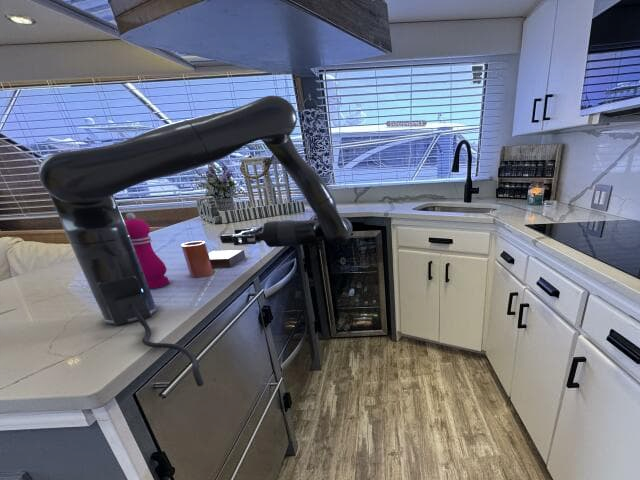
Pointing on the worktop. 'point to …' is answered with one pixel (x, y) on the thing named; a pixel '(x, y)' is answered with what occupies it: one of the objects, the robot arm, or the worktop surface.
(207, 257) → the cup
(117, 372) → the worktop surface
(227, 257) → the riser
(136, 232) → the pepper mill
